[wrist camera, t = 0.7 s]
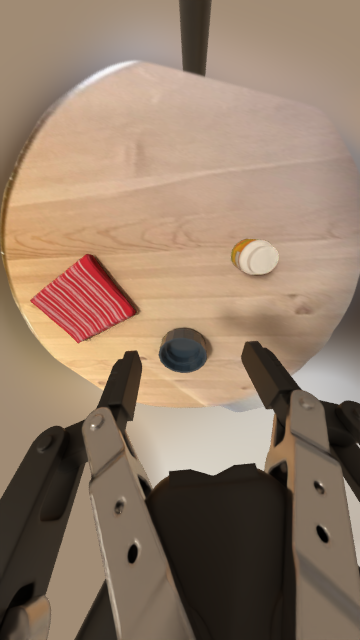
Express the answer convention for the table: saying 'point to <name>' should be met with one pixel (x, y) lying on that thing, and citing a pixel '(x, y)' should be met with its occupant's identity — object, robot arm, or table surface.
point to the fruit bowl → (183, 350)
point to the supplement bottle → (254, 256)
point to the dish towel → (83, 300)
